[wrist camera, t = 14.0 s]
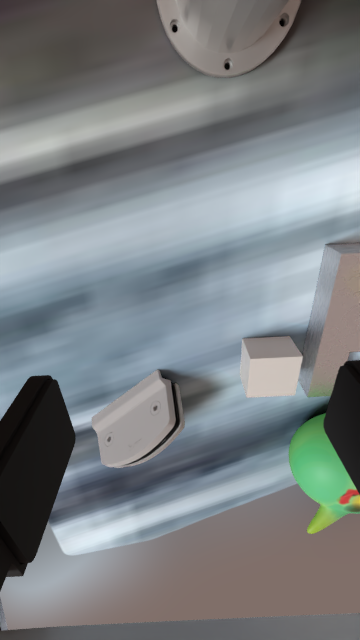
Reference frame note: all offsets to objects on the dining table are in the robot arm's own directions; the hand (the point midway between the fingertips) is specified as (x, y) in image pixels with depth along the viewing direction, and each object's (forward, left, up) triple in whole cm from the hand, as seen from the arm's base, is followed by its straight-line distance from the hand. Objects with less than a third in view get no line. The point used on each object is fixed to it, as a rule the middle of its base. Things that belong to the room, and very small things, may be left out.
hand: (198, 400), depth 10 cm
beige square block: (+20, +12, -28) cm, 37 cm away
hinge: (+30, -8, -29) cm, 42 cm away
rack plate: (+14, +25, -28) cm, 40 cm away
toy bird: (+37, +25, -28) cm, 53 cm away
